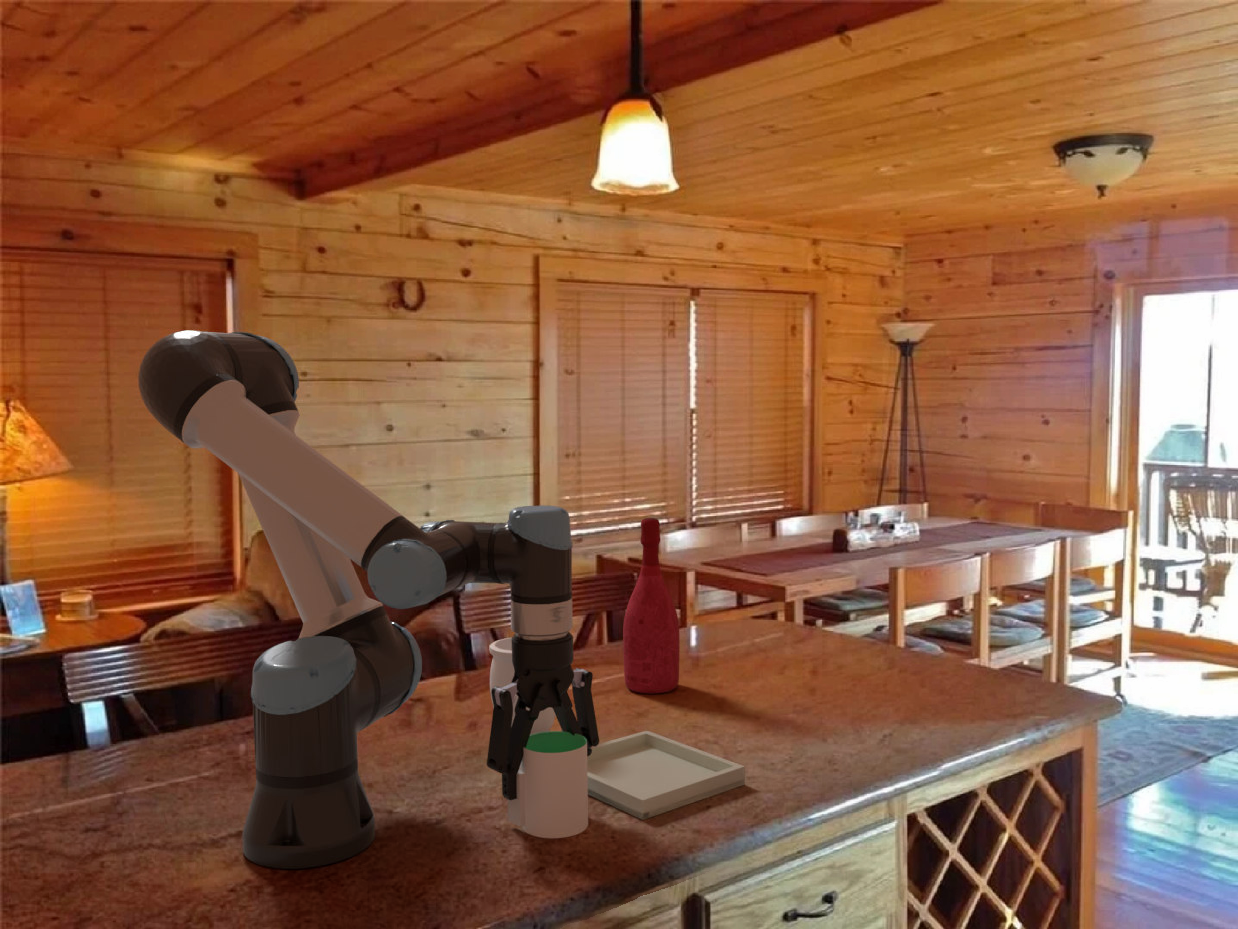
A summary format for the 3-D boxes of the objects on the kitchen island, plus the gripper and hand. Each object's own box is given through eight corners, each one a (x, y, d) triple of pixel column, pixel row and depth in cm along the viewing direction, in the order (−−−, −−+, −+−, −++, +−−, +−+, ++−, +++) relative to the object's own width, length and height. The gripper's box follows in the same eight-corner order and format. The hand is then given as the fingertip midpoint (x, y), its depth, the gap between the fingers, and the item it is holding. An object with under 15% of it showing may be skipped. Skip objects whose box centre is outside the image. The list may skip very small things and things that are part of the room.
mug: (489, 816, 139) (487, 734, 139) (538, 798, 145) (537, 720, 144) (551, 844, 131) (550, 757, 130) (601, 824, 136) (600, 741, 136)
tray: (642, 820, 138) (642, 800, 137) (547, 776, 153) (547, 758, 153) (744, 784, 149) (744, 766, 149) (647, 747, 164) (646, 730, 164)
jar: (549, 755, 161) (547, 653, 160) (481, 751, 163) (479, 651, 162) (567, 732, 172) (566, 636, 170) (503, 728, 174) (501, 634, 172)
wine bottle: (689, 685, 197) (688, 516, 194) (661, 699, 189) (660, 523, 186) (642, 677, 202) (640, 513, 200) (613, 690, 194) (610, 519, 191)
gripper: (486, 653, 127) (491, 847, 128) (627, 624, 140) (629, 801, 142) (452, 641, 132) (457, 827, 134) (590, 615, 146) (593, 785, 147)
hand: (545, 813), depth 138 cm, fingers closed on mug, 8 cm apart
